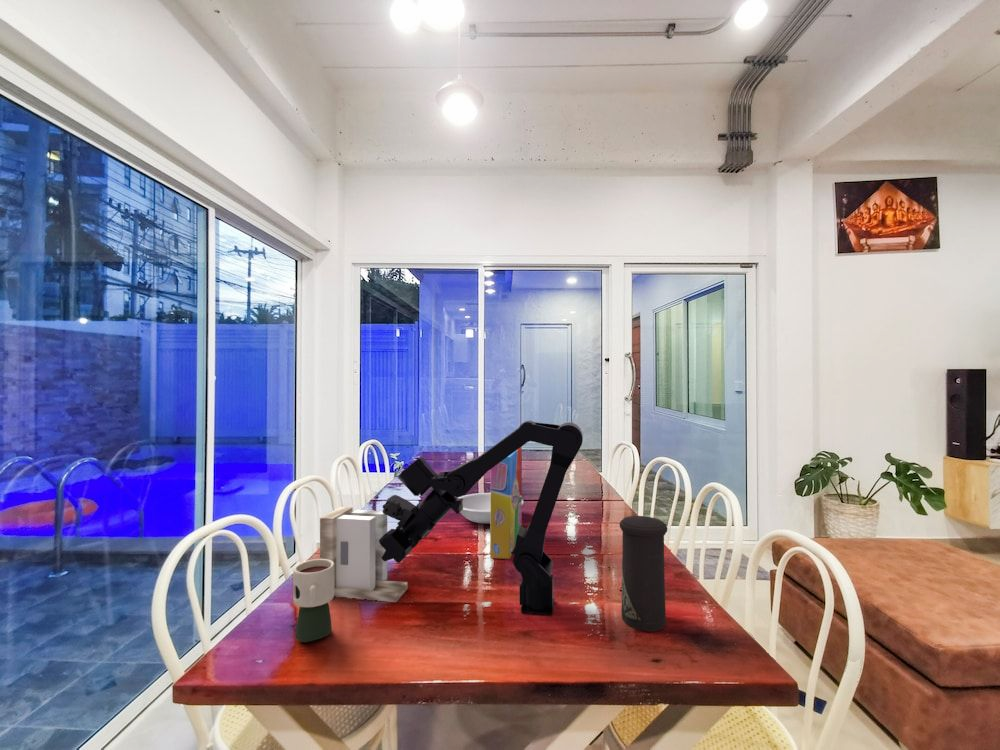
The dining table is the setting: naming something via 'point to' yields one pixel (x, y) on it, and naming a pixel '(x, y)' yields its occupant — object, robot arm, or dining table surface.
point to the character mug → (313, 598)
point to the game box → (505, 505)
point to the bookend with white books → (383, 588)
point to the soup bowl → (477, 507)
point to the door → (355, 552)
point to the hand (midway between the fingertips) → (383, 559)
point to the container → (643, 573)
